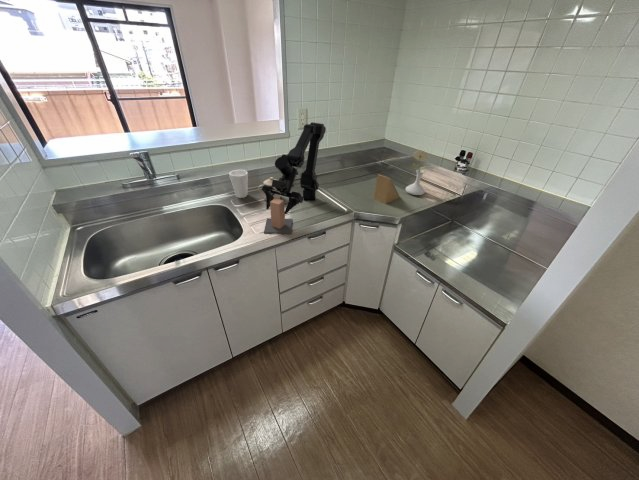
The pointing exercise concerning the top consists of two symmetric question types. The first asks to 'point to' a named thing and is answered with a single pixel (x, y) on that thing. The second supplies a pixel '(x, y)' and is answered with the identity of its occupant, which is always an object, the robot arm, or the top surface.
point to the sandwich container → (385, 190)
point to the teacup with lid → (269, 183)
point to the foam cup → (239, 182)
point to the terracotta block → (277, 213)
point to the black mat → (284, 230)
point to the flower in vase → (416, 187)
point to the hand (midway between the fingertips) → (276, 211)
